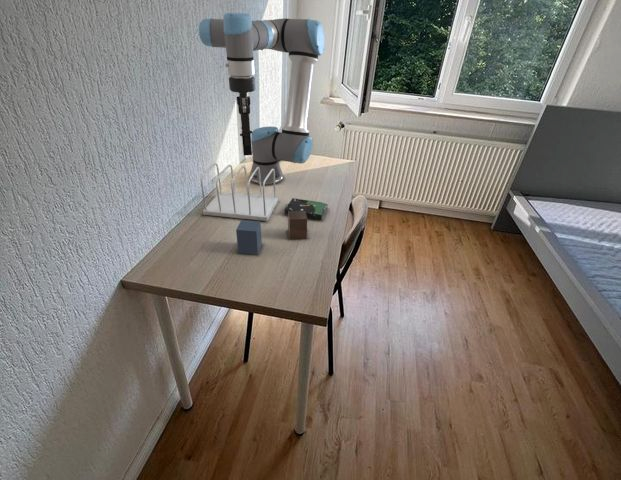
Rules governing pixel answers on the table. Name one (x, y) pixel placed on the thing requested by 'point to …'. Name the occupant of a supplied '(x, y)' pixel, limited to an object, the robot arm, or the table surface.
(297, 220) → the walnut block
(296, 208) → the disk drive
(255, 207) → the file sorter
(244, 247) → the slate-blue block
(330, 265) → the table surface
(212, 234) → the table surface
